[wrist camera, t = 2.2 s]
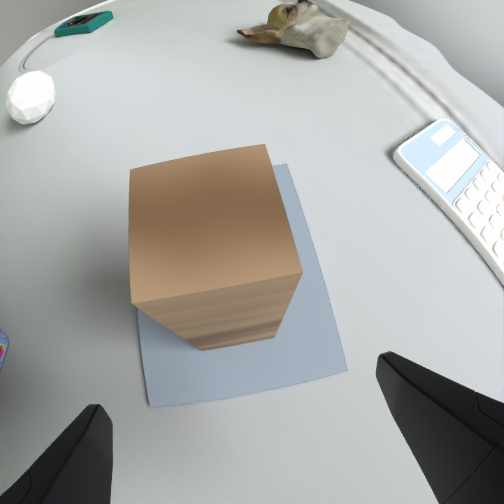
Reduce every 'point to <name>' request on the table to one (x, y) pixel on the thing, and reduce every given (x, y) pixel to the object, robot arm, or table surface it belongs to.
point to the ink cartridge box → (3, 347)
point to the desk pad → (256, 353)
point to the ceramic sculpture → (300, 28)
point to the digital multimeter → (83, 24)
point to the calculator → (460, 185)
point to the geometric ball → (31, 97)
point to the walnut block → (212, 247)
